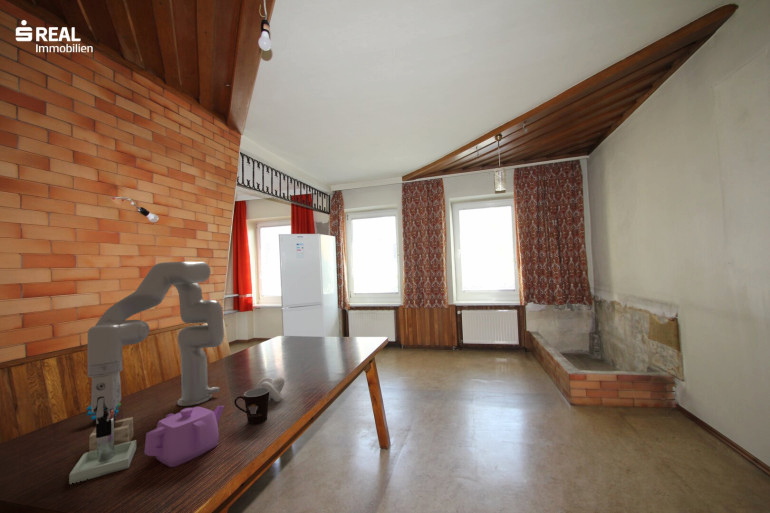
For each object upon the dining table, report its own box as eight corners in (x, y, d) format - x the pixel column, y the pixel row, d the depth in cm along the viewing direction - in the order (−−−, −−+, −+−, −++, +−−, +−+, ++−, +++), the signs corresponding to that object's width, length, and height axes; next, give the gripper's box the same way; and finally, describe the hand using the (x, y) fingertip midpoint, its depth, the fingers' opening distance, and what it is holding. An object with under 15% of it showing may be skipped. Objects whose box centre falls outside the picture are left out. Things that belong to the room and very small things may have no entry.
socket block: (133, 435, 106) (133, 416, 106) (127, 447, 98) (127, 427, 98) (98, 443, 101) (97, 424, 102) (89, 457, 94) (89, 436, 94)
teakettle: (140, 474, 84) (140, 427, 85) (167, 441, 100) (167, 402, 101) (210, 461, 88) (209, 416, 89) (225, 432, 105) (224, 395, 105)
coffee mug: (275, 417, 114) (274, 389, 115) (256, 428, 106) (256, 398, 107) (252, 412, 119) (251, 385, 120) (232, 422, 111) (232, 394, 112)
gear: (93, 423, 113) (84, 400, 117) (84, 434, 114) (75, 411, 117) (127, 414, 123) (117, 393, 127) (118, 424, 124) (109, 403, 127)
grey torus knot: (273, 393, 138) (272, 372, 138) (293, 397, 132) (292, 375, 133) (251, 403, 128) (250, 381, 128) (272, 408, 122) (271, 384, 123)
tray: (136, 448, 97) (136, 439, 97) (128, 468, 87) (128, 458, 87) (84, 461, 91) (84, 452, 91) (69, 484, 81) (69, 474, 81)
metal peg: (115, 453, 92) (115, 408, 92) (112, 459, 89) (112, 412, 89) (99, 457, 90) (99, 411, 91) (95, 463, 87) (95, 415, 87)
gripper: (115, 372, 85) (116, 441, 84) (127, 359, 100) (128, 418, 99) (78, 378, 81) (78, 450, 81) (96, 364, 96) (97, 425, 95)
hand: (105, 432), depth 90 cm, fingers closed on metal peg, 3 cm apart
